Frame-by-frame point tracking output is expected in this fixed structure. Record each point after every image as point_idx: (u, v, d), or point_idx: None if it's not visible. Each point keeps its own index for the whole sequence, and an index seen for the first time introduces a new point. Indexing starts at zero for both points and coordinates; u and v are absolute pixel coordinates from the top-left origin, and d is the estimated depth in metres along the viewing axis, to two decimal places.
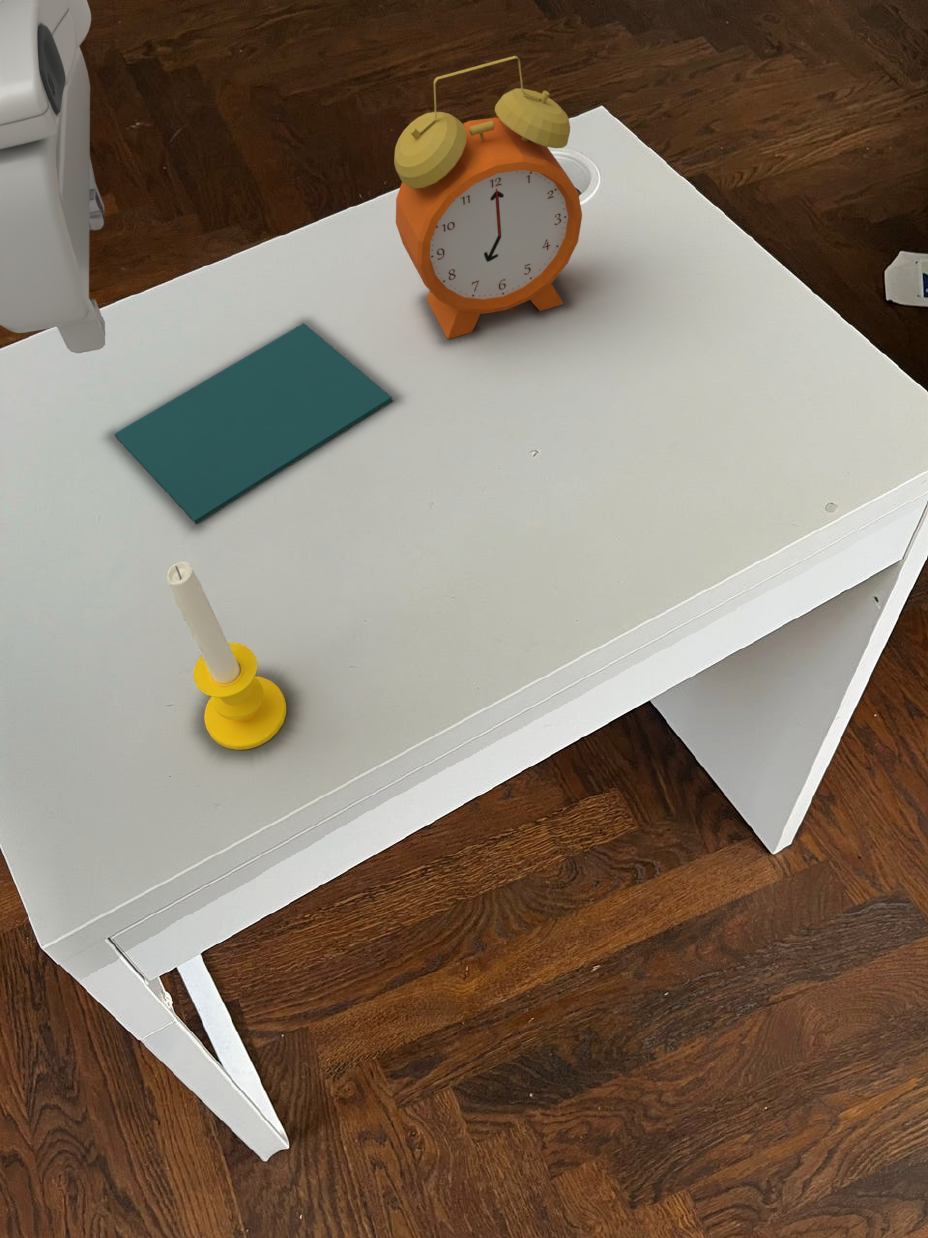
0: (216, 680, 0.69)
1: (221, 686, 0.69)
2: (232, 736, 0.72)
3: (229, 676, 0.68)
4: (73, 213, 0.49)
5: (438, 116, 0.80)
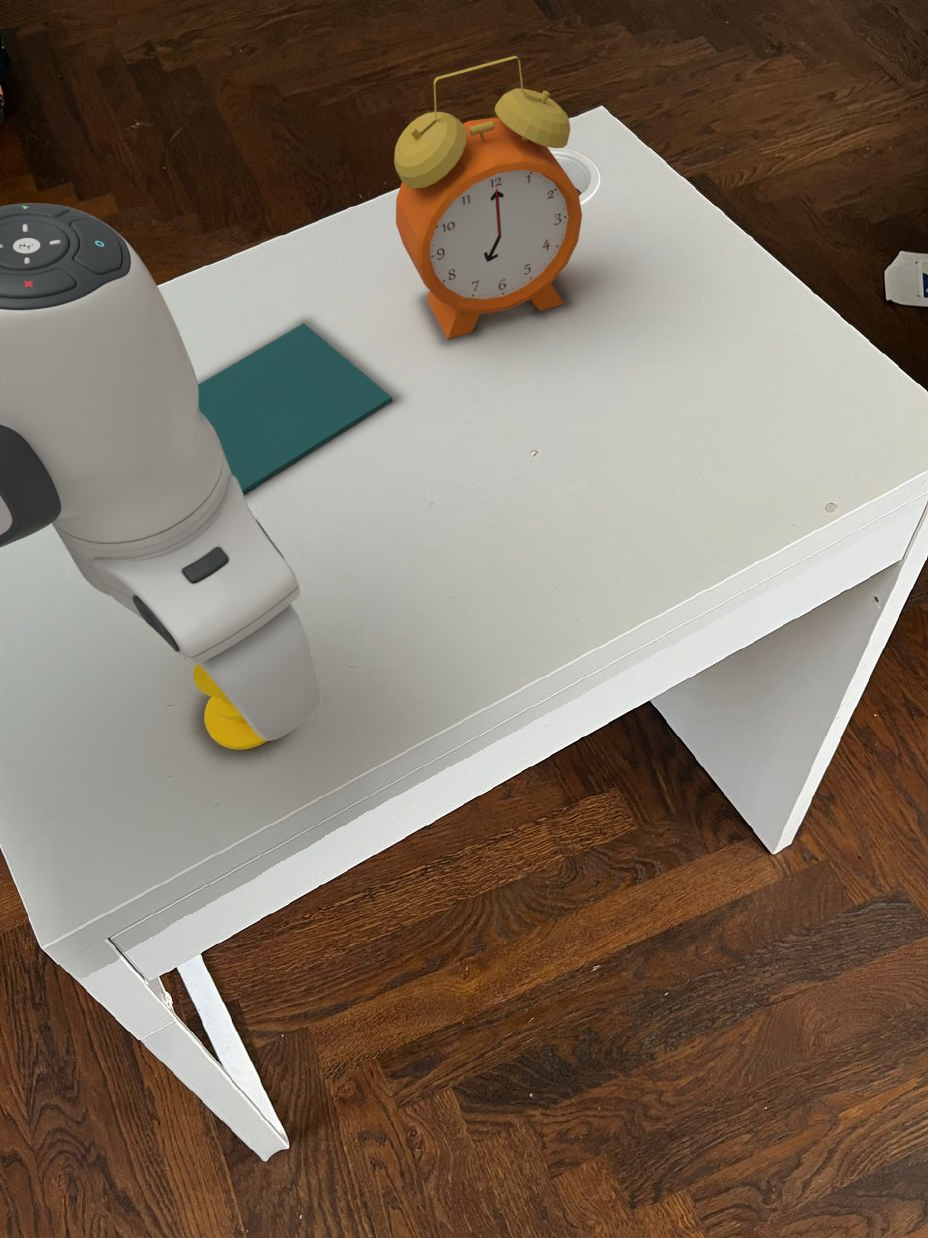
0: None
1: None
2: (232, 736, 0.72)
3: None
4: None
5: (438, 116, 0.80)
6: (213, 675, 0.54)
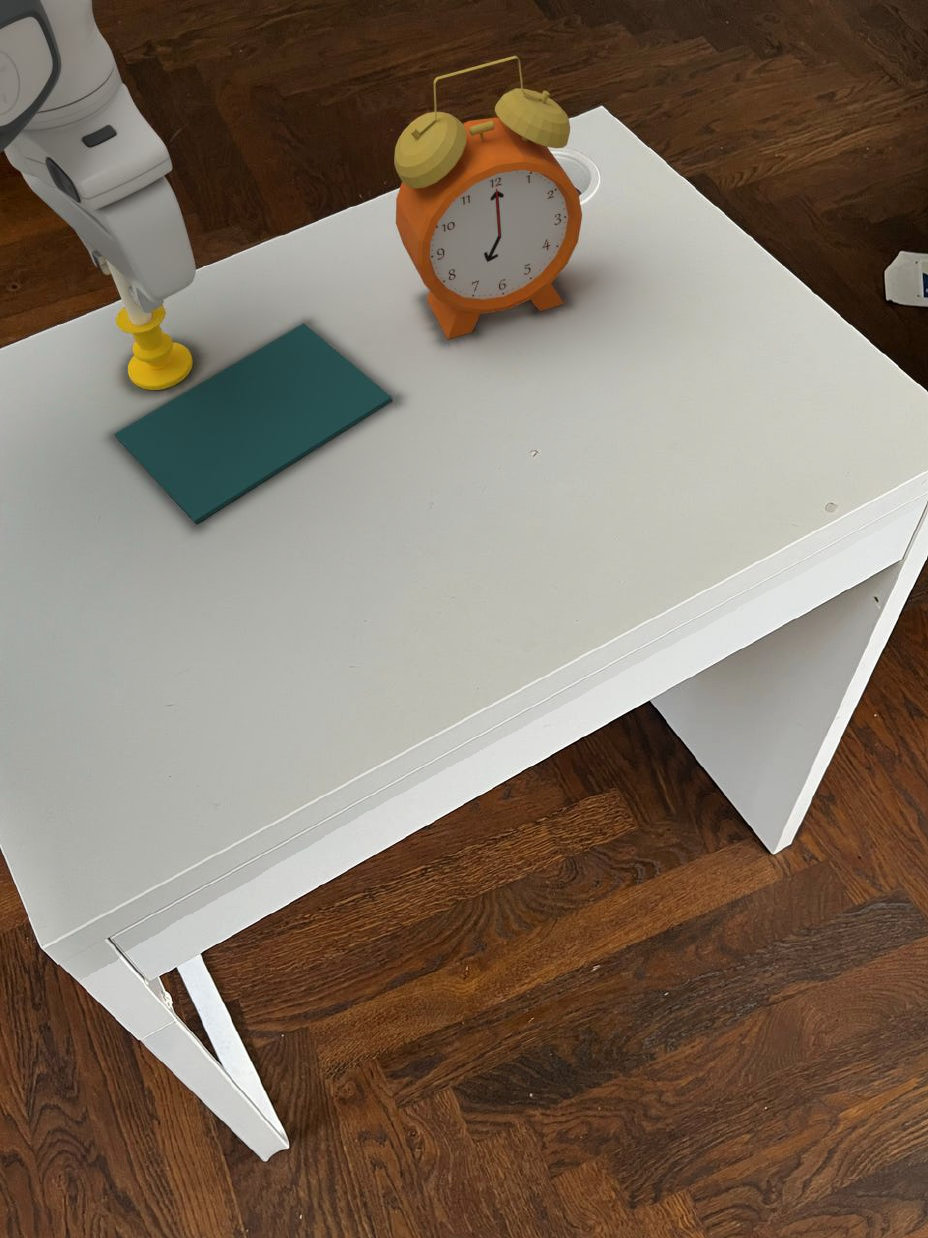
0: None
1: (127, 321, 0.89)
2: (134, 367, 0.93)
3: (131, 319, 0.88)
4: None
5: (438, 116, 0.80)
6: (106, 222, 0.73)
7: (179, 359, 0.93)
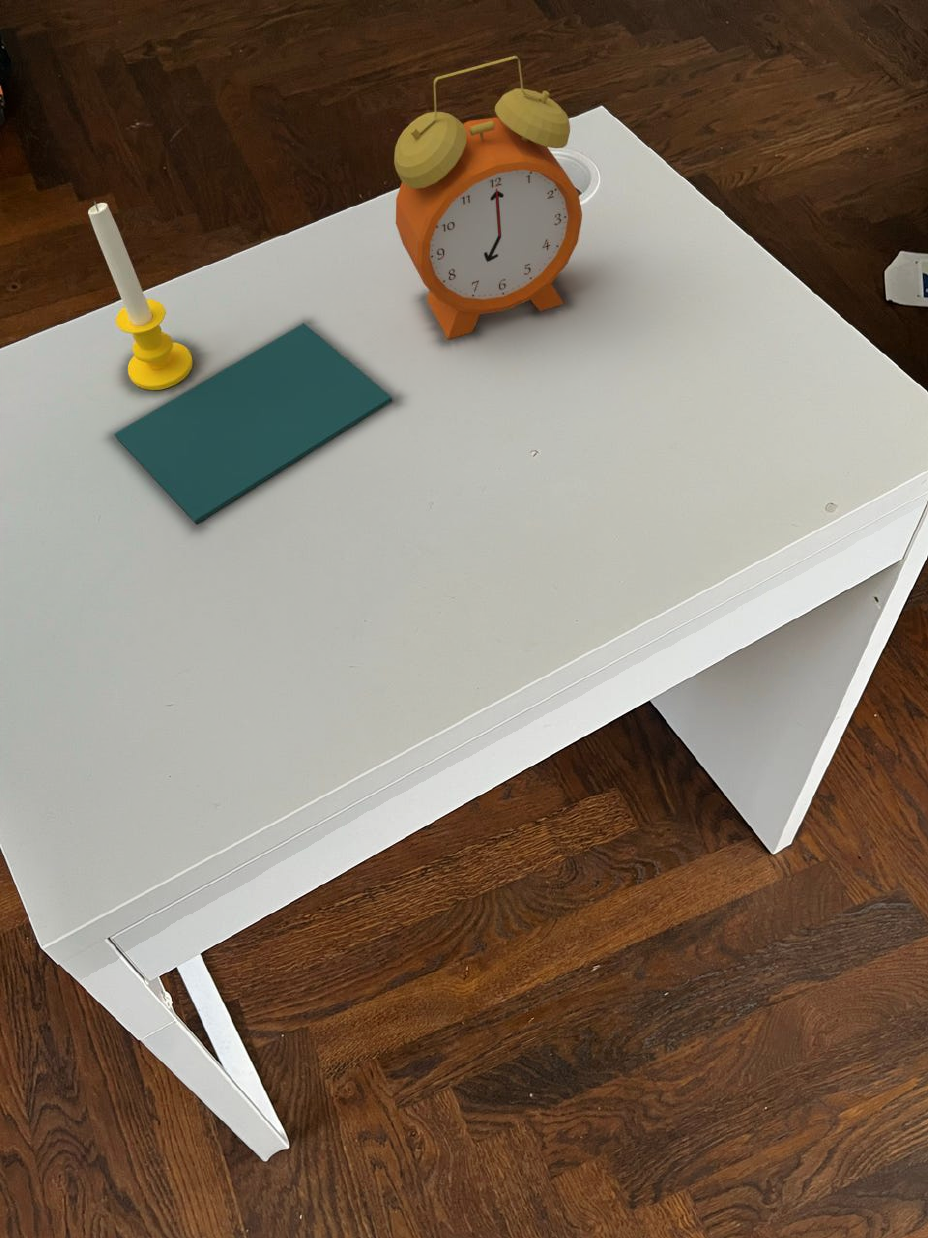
0: None
1: (127, 321, 0.89)
2: (134, 367, 0.93)
3: (131, 318, 0.88)
4: None
5: (438, 116, 0.80)
6: None
7: (179, 359, 0.93)
